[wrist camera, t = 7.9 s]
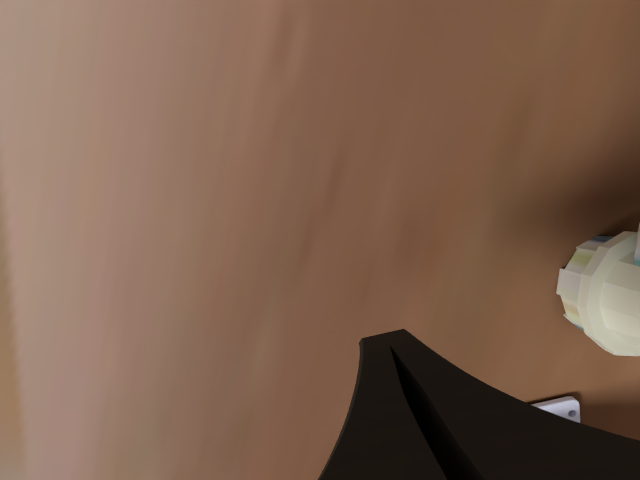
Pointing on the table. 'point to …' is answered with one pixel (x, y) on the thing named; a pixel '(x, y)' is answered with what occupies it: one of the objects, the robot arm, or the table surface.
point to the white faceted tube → (605, 291)
